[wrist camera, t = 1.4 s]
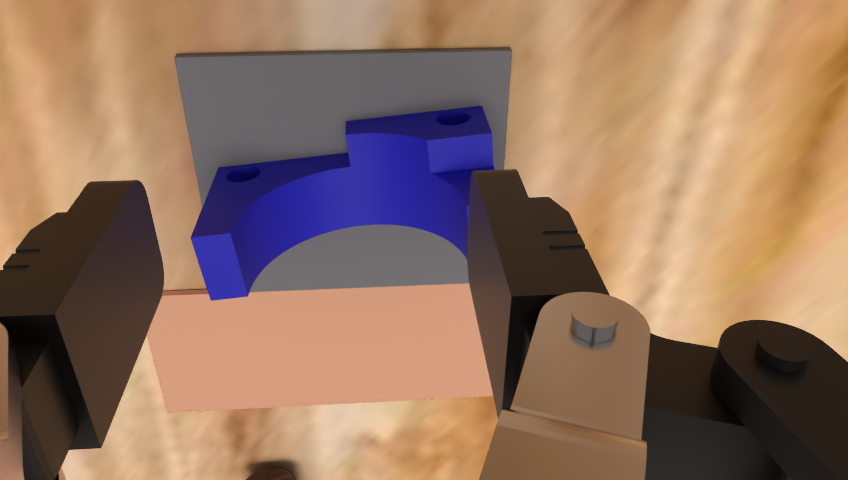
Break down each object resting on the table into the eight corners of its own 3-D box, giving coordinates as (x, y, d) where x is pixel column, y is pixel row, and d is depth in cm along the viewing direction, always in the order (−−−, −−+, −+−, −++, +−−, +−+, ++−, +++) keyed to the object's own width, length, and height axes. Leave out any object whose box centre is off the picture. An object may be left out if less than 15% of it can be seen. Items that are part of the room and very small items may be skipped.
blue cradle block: (481, 105, 31) (504, 165, 26) (486, 195, 34) (507, 266, 29) (209, 136, 31) (179, 203, 26) (233, 224, 33) (210, 300, 28)
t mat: (77, 56, 29) (74, 59, 29) (602, 45, 31) (604, 48, 30) (169, 407, 40) (167, 412, 39) (555, 387, 41) (556, 392, 41)
